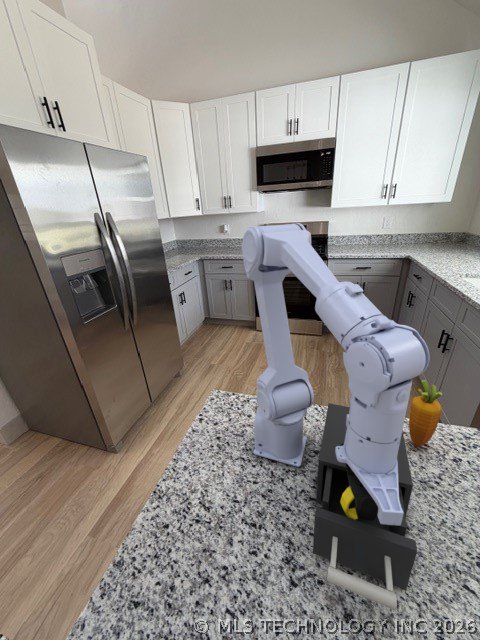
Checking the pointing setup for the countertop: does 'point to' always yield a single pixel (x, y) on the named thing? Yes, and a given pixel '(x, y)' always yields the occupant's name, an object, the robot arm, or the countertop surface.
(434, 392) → the carrot
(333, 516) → the dark gray drawer
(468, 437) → the countertop surface
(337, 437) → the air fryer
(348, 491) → the watch
